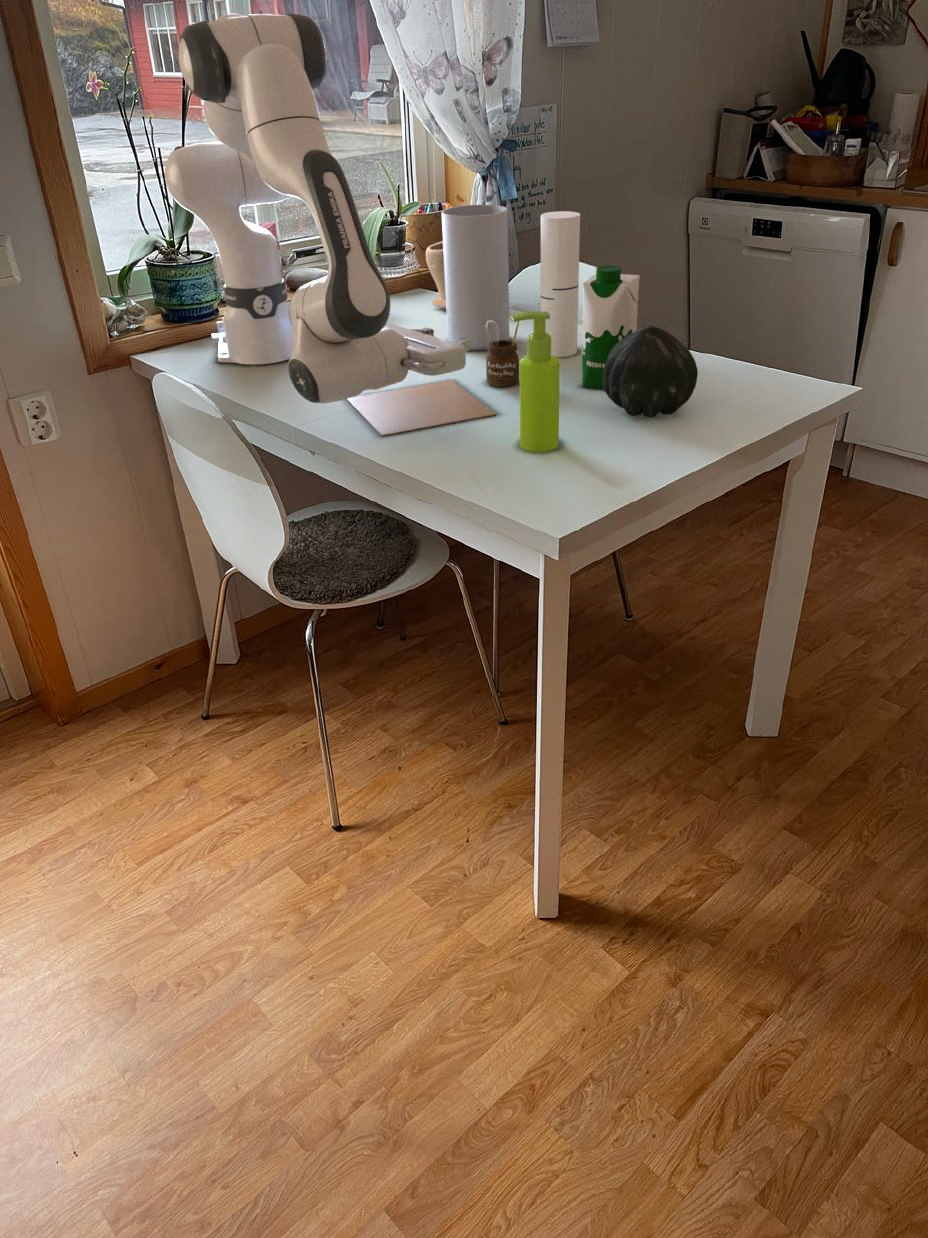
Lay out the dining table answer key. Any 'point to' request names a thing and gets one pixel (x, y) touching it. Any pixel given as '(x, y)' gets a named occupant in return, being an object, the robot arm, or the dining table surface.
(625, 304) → the milk carton
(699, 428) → the dining table surface
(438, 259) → the stone cup
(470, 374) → the dining table surface
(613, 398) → the squash
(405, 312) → the dining table surface
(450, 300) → the cylinder vase
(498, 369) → the utensil holder
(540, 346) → the soap dispenser
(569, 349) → the cylindrical container
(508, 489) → the dining table surface
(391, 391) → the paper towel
